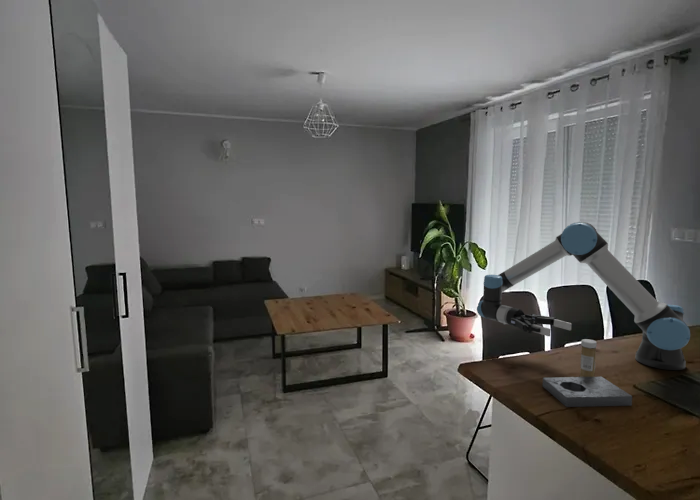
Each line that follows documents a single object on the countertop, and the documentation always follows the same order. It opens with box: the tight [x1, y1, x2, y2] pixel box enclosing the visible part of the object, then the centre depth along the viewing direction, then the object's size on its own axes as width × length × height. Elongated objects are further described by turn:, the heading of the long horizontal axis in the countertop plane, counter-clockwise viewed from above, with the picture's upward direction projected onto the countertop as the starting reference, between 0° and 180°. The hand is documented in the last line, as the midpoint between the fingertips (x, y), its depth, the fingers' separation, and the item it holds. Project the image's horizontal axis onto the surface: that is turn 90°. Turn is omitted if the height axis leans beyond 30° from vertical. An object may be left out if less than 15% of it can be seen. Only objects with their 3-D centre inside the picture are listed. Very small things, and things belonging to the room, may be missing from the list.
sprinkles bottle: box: [579, 338, 598, 377], centre depth 137 cm, size 5×5×13 cm
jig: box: [542, 376, 633, 408], centre depth 125 cm, size 20×14×3 cm
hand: (560, 329), depth 145 cm, fingers open, 13 cm apart
